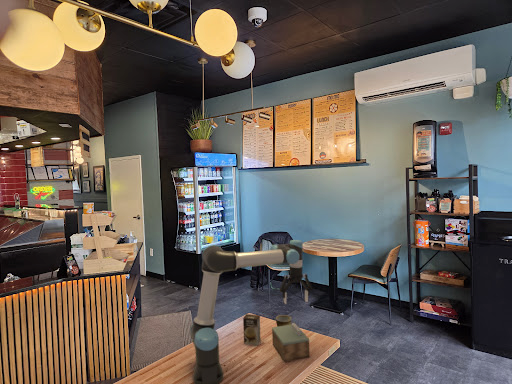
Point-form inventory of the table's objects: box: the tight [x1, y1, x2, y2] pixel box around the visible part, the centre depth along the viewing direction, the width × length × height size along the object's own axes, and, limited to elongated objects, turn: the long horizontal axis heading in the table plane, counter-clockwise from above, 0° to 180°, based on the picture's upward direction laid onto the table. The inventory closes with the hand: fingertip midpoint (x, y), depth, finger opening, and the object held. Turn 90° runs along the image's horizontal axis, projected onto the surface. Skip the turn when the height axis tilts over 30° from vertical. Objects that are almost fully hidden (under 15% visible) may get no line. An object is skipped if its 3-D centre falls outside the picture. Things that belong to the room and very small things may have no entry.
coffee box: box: [242, 314, 261, 346], centre depth 200 cm, size 9×6×16 cm
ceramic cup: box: [275, 314, 292, 327], centre depth 212 cm, size 13×10×10 cm
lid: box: [271, 322, 310, 345], centre depth 189 cm, size 15×20×4 cm
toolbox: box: [271, 329, 310, 363], centre depth 189 cm, size 15×20×9 cm
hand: (295, 302), depth 194 cm, fingers open, 13 cm apart
